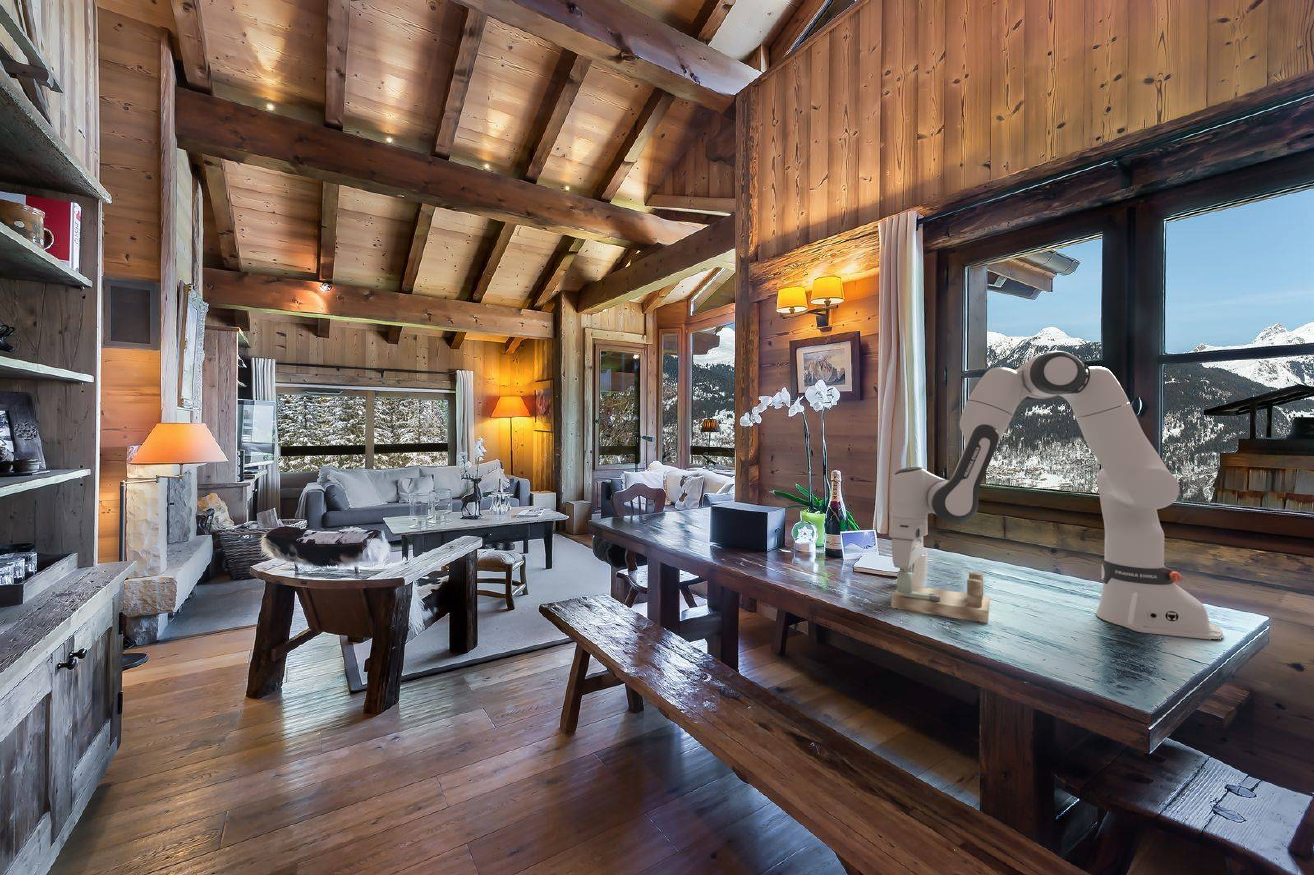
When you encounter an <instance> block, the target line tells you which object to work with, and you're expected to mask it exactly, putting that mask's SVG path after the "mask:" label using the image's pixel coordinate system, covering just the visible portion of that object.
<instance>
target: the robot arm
mask: <svg viewBox="0 0 1314 875" xmlns="http://www.w3.org/2000/svg"><path fill="white" fill-rule="evenodd" d="M1058 396H1060V397H1062V398H1063V399H1064V400H1066V401H1067V402H1068V404H1069V405H1070V407H1071V410H1072V412H1073V414H1074V417H1075V419H1076V421H1077V425H1078V426H1079V428H1080V431H1081V434H1082V435H1083V438H1084V441H1085V443H1086V446H1087V447H1088V449H1089V450H1090V451H1091V452H1092V454H1093V456H1095V459H1097V461H1098V462H1099V464H1100V466H1101V467H1102V468H1101V469H1100V470H1099V471H1098V473H1097V475H1096V479H1095V480H1096V485H1097V489H1098V493H1099V494H1098V495H1099V501H1100V509H1101V514H1102V519H1103V524H1104V525H1103V526H1104V558H1103V559H1102V563H1101V580H1102V590H1101V596H1100V599H1099V603H1098V606H1097V609H1096V612H1095V616H1096V617H1098V618H1100V620H1101V619H1102V620H1104V621H1106V622H1108V623H1111V624H1115V625H1118V626H1121V627H1124V628H1127V629H1130V630H1132V631H1135V632H1139V633H1146V634H1155V635H1163V636H1171V637H1172V636H1173V637H1182V638H1192V639H1194V638H1195V639H1200V640H1201V639H1203V640H1211V639H1220V638H1222V636H1223V637H1224V635H1223V631H1222V629H1221V628H1220V627H1219V626H1217V625H1216V624H1214V623H1212V622H1210V619H1209V615H1208V612H1207V609H1206V607H1205V606H1204V604H1203V603H1202V602H1201V601H1199V599H1197V597H1195V596H1193V595H1192V594H1190V593H1189V592H1188V591H1186V590H1185V589H1183V588H1182V587H1180V585H1177V584H1176V583H1175V582H1181V580H1182V579H1183V577H1182V575H1181V574H1180V573H1179V572H1178V571H1175V570H1173V569H1171V568H1169V567H1167V566H1166V565H1165V533H1164V530H1163V528H1162V525H1161V523H1160V518H1159V515H1158V510H1160V509H1164V508H1167V507H1169V506H1171V505H1172V504H1174V502H1175V501H1176V500H1177V499H1178V497H1179V496H1180V490H1181V489H1180V484H1179V482H1178V480H1177V478H1176V477H1175V476H1174V474H1172V473H1171V471H1170V470H1169V469H1168V467H1167V466H1166V465H1165V463H1164V461H1163V460H1162V458H1161V457H1160V455H1159V453H1158V452H1157V451H1156V449H1155V448H1154V446H1153V445H1152V444H1151V442H1150V440H1149V439H1148V437H1147V436H1146V434H1145V433H1144V431H1143V429H1142V427H1141V424H1140V421H1139V419H1138V418H1137V416H1136V413H1135V412H1134V410H1133V406H1132V405H1131V402H1130V400H1129V398H1128V396H1127V394H1126V393H1125V391H1124V388H1122V385H1121V384H1120V382H1119V381H1118V379H1117V378H1116V376H1115V375H1114V374H1113V373H1112V371H1110V369H1108V368H1106V367H1102V366H1088V365H1087V364H1086V363H1084V362H1082V361H1081V360H1080V359H1079V358H1077V357H1076V356H1075V355H1073V354H1072V353H1069V352H1066V351H1062V350H1052V351H1048V352H1047V351H1046V352H1045V353H1042V354H1039V355H1035V356H1034V357H1032V358H1030V359H1029V360H1027V361H1026V362H1024V363H1022V364H1020V365H1019V366H1017V367H1016V368H1014V369H1012V368H1009V367H999V366H998V367H992V368H990V369H989V370H987V371H986V372H985V373H984V374H983V376H982V377H980V380H979V381H978V382H977V384H976V386H975V387H974V388H973V390H972V392H971V393H970V395H969V397H968V399H967V401H966V403H965V405H964V407H963V410H962V412H961V416H960V420H959V429H960V431H961V433H962V435H963V439H964V448H963V451H962V454H961V456H960V458H959V460H958V463H957V465H956V468H955V469H954V473H953V474H952V477H951V478H950V479H949V480H948V479H946V478H942V477H940V476H938V475H935V474H934V473H931V472H929V471H927V470H926V469H925V468H923V467H920V466H915V467H912V466H911V467H906V468H905V467H904V468H900V469H899V470H897V471H896V472H895V473H894V474H893V477H892V483H891V503H892V511H891V523H890V527H889V530H888V535H889V536H888V537H889V538H891V556H892V564H893V566H894V568H898V569H900V568H903V569H904V571H908V572H911V573H912V578H913V577H914V568H915V562H916V561H917V560H918V559H919V558H920V557H921V556H922V555H923V552H925V551H924V547H925V546H924V537H925V536H927V535H928V515H930V514H935V515H936V517H937V518H939V520H941V521H942V522H944V523H947V524H949V525H950V524H951V525H962V524H965V523H967V522H969V521H970V520H972V518H974V516H975V515H976V514H977V512H978V508H979V491H980V488H981V484H982V482H983V479H984V477H985V474H986V472H987V470H988V468H989V466H990V464H991V461H992V459H993V456H994V454H995V452H996V449H997V446H998V445H999V443H1000V440H1001V438H1002V437H1003V435H1004V433H1005V431H1006V430H1007V428H1008V426H1009V424H1010V423H1011V420H1012V419H1013V417H1014V414H1015V412H1016V410H1017V408H1018V406H1019V405H1020V404H1021V402H1022V401H1023V400H1024V399H1025V400H1035V401H1036V400H1043V399H1051V398H1055V397H1058ZM1222 639H1223V638H1222ZM1220 640H1221V639H1220Z"/></svg>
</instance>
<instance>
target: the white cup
mask: <svg viewBox="0 0 1314 875" xmlns="http://www.w3.org/2000/svg"><path fill="white" fill-rule="evenodd" d="M928 556H929V555H928V552H926V551H923V555H922V556H921V557H920V558H919V559H918V560H917V561H916V562H915V568H914V577H913V578H912V586H917V587H924V588H927V587H926V586H927V584H926V583H927V582H926V581H927V571H928V559H929V557H928Z"/></svg>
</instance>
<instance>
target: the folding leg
mask: <svg viewBox="0 0 1314 875" xmlns="http://www.w3.org/2000/svg"><path fill="white" fill-rule="evenodd" d="M896 573H897V574H896V576H897V579H896V582H897V583H896V585H897V586H896V589H897V591H898V592H900V593H904V596H906V597H914V598H921V599H928V600H932V601H940V595H937V594H928V593H920V592H913V591H912V573H911V572H908V571H900V570H898V571H897V572H896Z"/></svg>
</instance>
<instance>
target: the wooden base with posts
mask: <svg viewBox="0 0 1314 875" xmlns="http://www.w3.org/2000/svg"><path fill="white" fill-rule="evenodd" d="M899 571H904V569H903V568H899ZM966 581H967V582H966V587H967V588H966V590H967V591H966V592H960V591H955V590H952V591H951V590H947V589H938V588H931V587H917V586H912V591H913V592H920V593H928V594H937V595H940V601H932V600H928V599H921V598H914V597H906V596H904V593H900V592H898V591H897V588H896V589H895V590H894V592H893V593H892V594H891V595H890V608H891V607H892V608H891V609H895V608H898V609H897V610H902V609H903V610H904V611H907V612H909V611H910V612H916V613H922V614H927V615H935V616H941V617H947V618H954V619H959V620H965V621H972V622H977V621H979V622H980V623H985V624H988V623H989V618H988V617H989V616H990V605H991V604H990V596H989V595H984V574H983V573H981V572H976V571H975V572H974V571H973V572H972V571H971V572H968V579H966ZM903 610H902V611H903ZM979 622H978V623H979Z"/></svg>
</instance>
